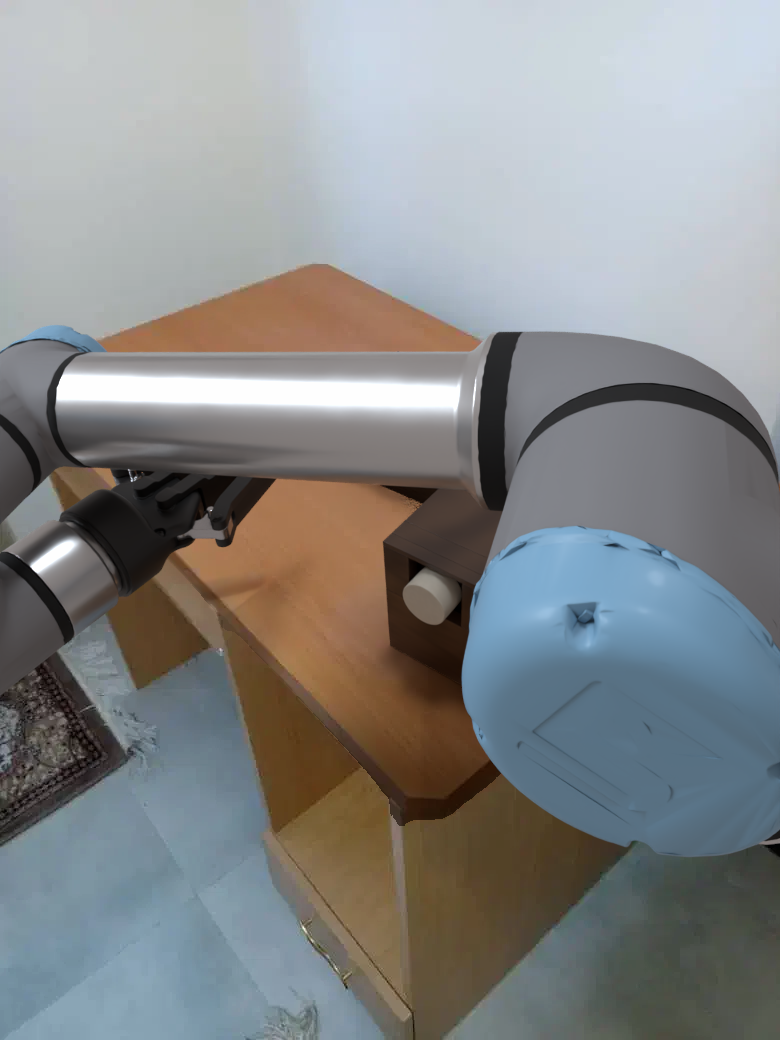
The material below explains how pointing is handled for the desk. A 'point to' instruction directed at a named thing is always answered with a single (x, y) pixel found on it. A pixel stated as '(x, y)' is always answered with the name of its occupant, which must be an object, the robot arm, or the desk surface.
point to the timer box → (450, 551)
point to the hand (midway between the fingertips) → (306, 404)
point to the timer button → (432, 596)
